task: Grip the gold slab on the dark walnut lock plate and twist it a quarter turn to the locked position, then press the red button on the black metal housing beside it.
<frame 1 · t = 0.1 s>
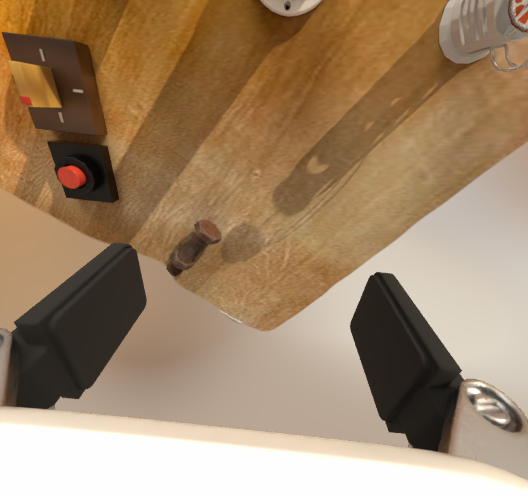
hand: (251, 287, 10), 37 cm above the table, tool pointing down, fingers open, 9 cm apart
bolt: (193, 245, 52), on the table
french press: (475, 27, 32), on the table
gold slab: (37, 86, 33), point 6 cm above the table, hinge at 0.0°
lock plate: (68, 89, 38), on the table
red button: (72, 177, 41), point 4 cm above the table, slide at 0.1 cm
button box: (90, 171, 45), on the table
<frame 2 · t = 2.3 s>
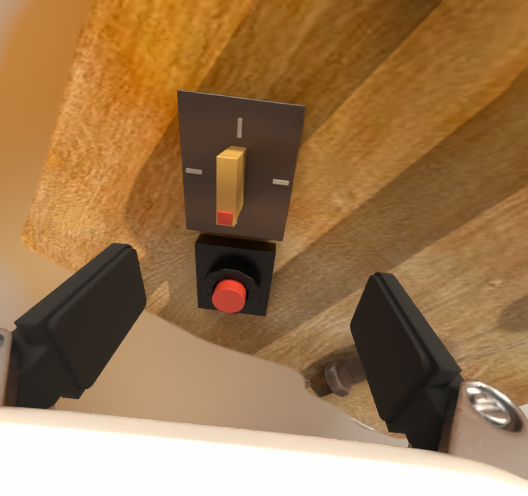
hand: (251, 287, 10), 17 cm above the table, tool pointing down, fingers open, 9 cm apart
bolt: (349, 355, 38), on the table
gold slab: (232, 184, 19), point 6 cm above the table, hinge at 0.0°
lock plate: (242, 169, 24), on the table
red button: (229, 295, 26), point 4 cm above the table, slide at 0.1 cm
button box: (236, 272, 30), on the table
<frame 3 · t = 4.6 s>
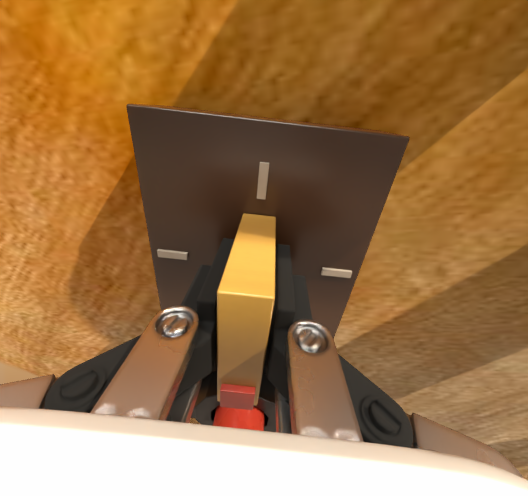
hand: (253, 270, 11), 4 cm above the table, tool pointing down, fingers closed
gold slab: (249, 302, 9), point 6 cm above the table, hinge at 0.0°, touching gripper
lock plate: (259, 234, 14), on the table
red button: (238, 426, 16), point 4 cm above the table, slide at 0.1 cm
button box: (245, 366, 20), on the table
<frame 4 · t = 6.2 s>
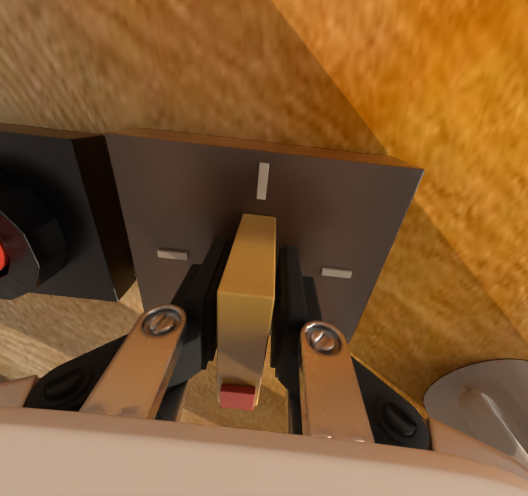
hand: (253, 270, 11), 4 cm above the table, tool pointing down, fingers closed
gold slab: (249, 302, 9), point 6 cm above the table, hinge at 90.0°
coffee mug: (477, 382, 20), on the table
lock plate: (259, 234, 14), on the table
button box: (37, 209, 14), on the table
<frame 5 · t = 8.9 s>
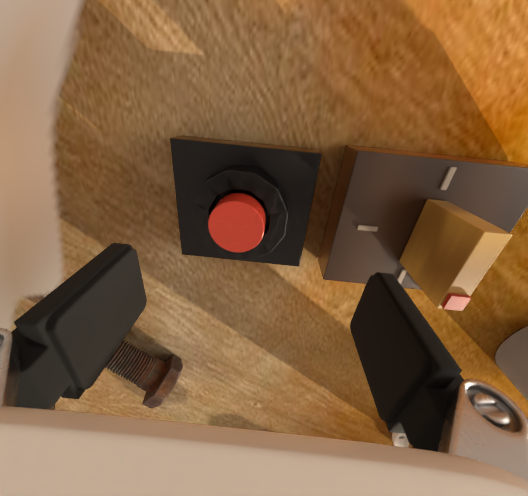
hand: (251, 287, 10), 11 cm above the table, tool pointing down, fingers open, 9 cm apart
bolt: (127, 335, 29), on the table
gold slab: (443, 252, 14), point 6 cm above the table, hinge at 90.0°
lock plate: (402, 217, 19), on the table
red button: (238, 222, 16), point 4 cm above the table, slide at 0.1 cm
button box: (246, 201, 19), on the table
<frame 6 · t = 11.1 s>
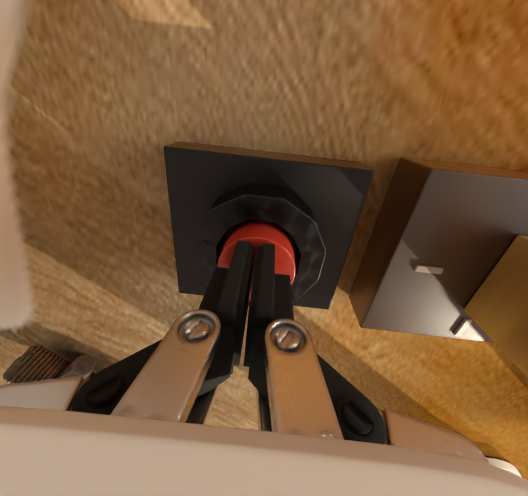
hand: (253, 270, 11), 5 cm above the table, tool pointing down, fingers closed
bolt: (114, 372, 25), on the table
lock plate: (461, 248, 15), on the table
red button: (257, 261, 11), point 4 cm above the table, slide at -0.2 cm, touching gripper
button box: (262, 225, 15), on the table
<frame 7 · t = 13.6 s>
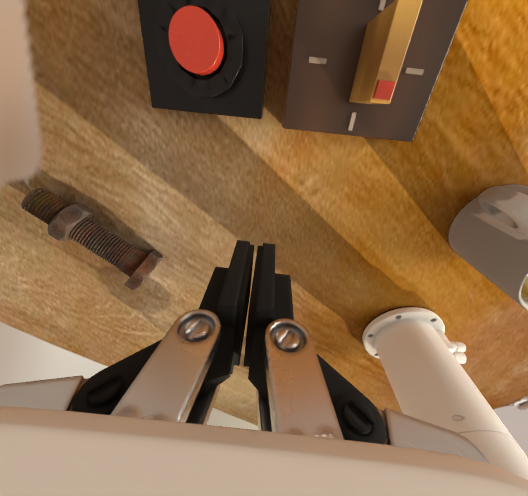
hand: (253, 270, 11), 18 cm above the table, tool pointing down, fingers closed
bolt: (108, 228, 31), on the table
gold slab: (378, 61, 16), point 6 cm above the table, hinge at 90.0°
coffee mug: (488, 213, 28), on the table
lock plate: (354, 70, 21), on the table
red button: (197, 43, 17), point 4 cm above the table, slide at 0.1 cm
button box: (211, 54, 21), on the table
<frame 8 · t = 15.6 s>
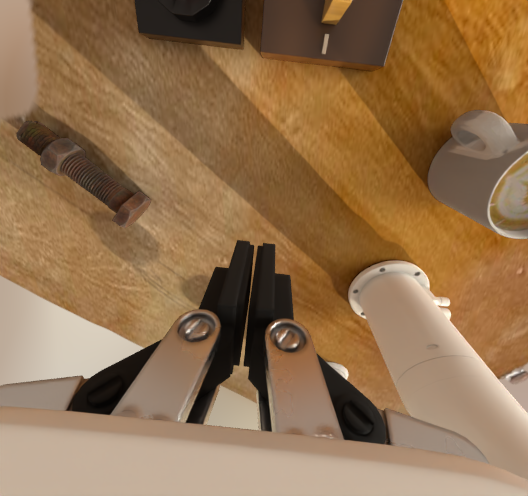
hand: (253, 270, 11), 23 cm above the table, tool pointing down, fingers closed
bolt: (100, 169, 32), on the table
coffee mug: (465, 154, 29), on the table
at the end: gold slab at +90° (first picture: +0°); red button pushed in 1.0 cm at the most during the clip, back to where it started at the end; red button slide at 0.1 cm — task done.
